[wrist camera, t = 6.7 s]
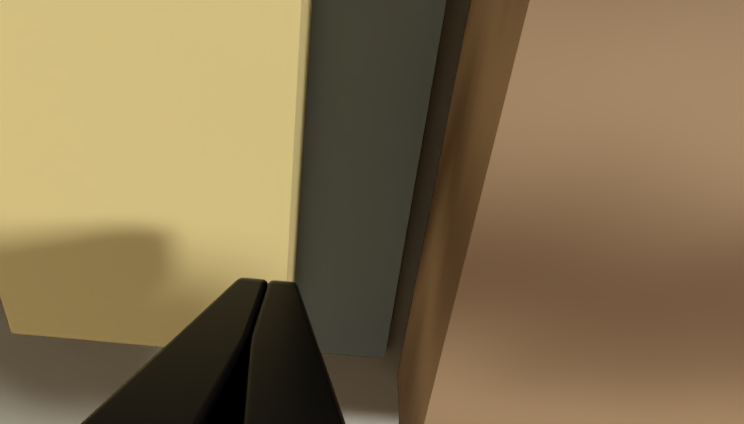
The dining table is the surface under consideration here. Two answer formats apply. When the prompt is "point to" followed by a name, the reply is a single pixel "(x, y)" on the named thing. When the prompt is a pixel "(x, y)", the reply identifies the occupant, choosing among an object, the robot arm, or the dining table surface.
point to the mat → (361, 162)
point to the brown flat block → (586, 220)
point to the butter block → (146, 159)
